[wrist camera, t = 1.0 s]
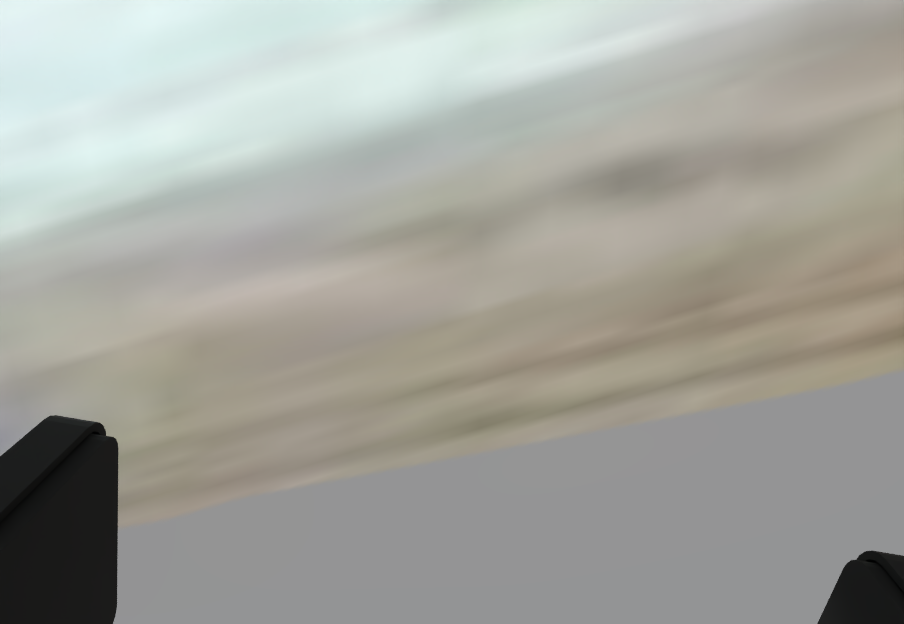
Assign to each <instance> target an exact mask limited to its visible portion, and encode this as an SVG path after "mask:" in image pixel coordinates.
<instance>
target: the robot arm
mask: <svg viewBox="0 0 904 624" xmlns="http://www.w3.org/2000/svg"><path fill="white" fill-rule="evenodd" d="M117 533H118V443H117V441H116V439H115V438H114V437H109V436H106V431H105V429H104V426H103V425H102V424H101V423H98V422H92V421H86V420H80V419H74V418H68V417H62V416H56V415H55V416H49V417H47V418H46V419H44V420H43V421H42V422H40V423H39V424H38V425H37V426H36V427H35V428H33V429H32V430H31V431H30V432H29V433H27V434H26V435H25V436H24V437H23V438H22V439H20V440H19V441H18V442H17V443H16V444H15V445H13V446H12V447H11V448H10V449H9V450H7V451H6V452H5V453H4V454H3V455H2V456H0V624H113V621H114V618H115V614H116V608H117ZM818 624H904V556H901V555H895V554H889V553H883V552H877V551H866V552H864V553H862V554H861V555H859V557H858V558H857V560H851V561H850V562H848V563H847V564H846V565H845V567H844V568H843V571H842V573H841V575H840V577H839V579H838V581H837V583H836V585H835V588H834V590H833V592H832V594H831V596H830V598H829V600H828V603H827V605H826V607H825V609H824V611H823V613H822V615H821V617H820V619H819V621H818Z"/></svg>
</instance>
